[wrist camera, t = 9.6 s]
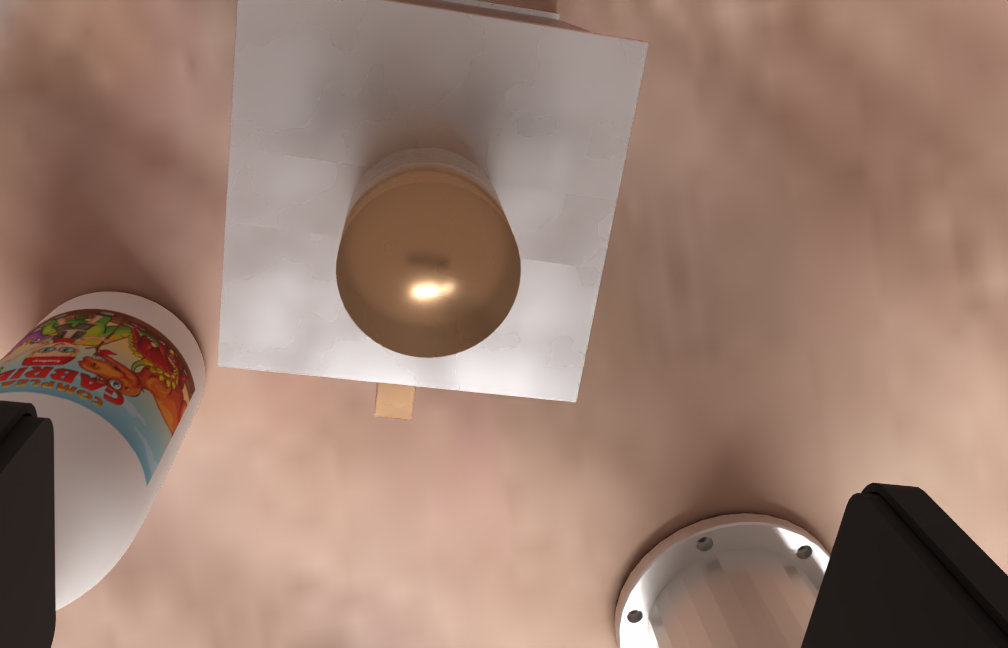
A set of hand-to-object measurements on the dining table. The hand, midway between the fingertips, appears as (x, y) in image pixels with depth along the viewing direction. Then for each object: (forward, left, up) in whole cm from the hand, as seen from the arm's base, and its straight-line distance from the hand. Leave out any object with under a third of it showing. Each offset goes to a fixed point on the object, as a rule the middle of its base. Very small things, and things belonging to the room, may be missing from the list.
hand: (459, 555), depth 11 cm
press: (0, +1, -32) cm, 32 cm away
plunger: (0, 0, -30) cm, 30 cm away
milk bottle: (+12, +13, -32) cm, 36 cm away
